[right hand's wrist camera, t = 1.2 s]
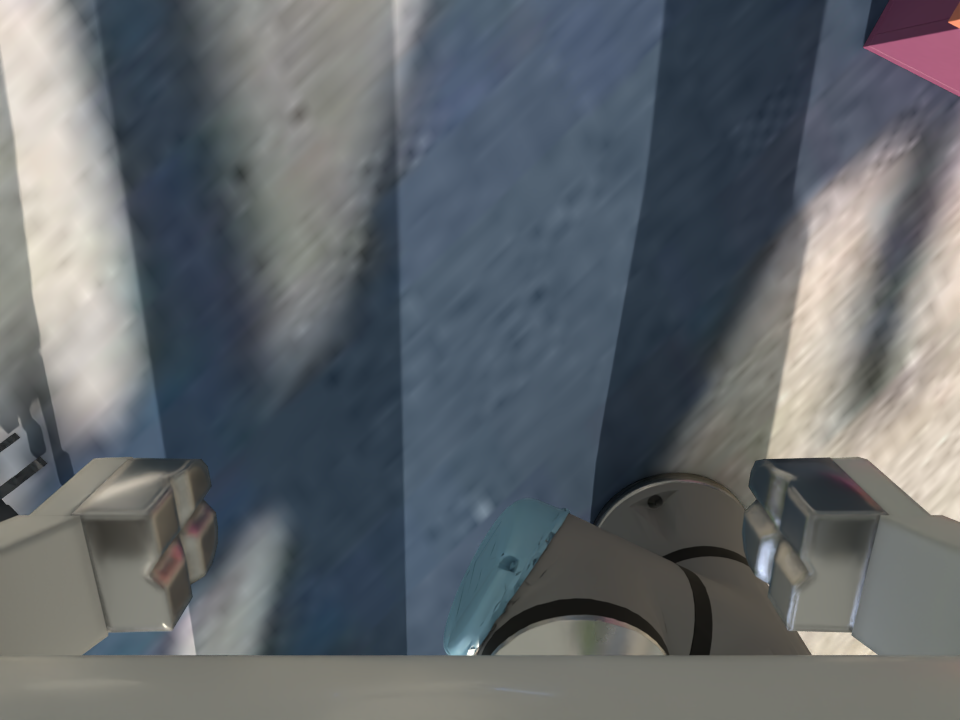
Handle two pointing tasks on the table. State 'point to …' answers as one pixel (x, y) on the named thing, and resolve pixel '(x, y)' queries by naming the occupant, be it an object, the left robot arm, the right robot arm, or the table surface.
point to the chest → (920, 40)
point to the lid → (955, 17)
